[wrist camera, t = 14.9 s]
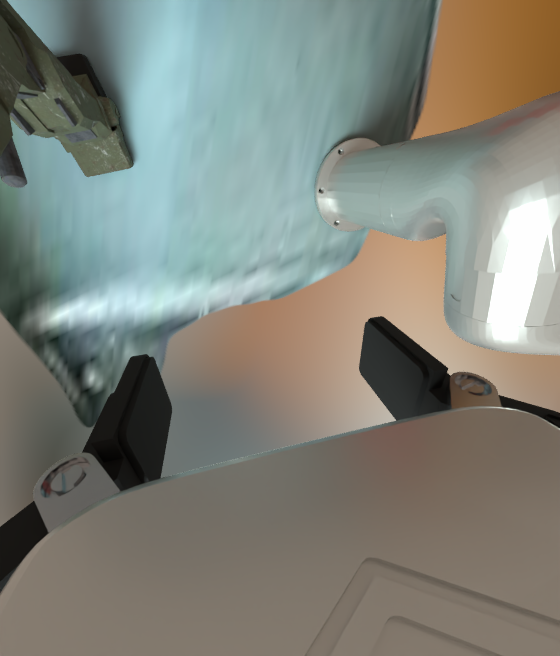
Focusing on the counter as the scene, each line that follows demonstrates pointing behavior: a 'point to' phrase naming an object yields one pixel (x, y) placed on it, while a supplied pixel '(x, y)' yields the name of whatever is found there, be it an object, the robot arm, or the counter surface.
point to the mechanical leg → (53, 103)
